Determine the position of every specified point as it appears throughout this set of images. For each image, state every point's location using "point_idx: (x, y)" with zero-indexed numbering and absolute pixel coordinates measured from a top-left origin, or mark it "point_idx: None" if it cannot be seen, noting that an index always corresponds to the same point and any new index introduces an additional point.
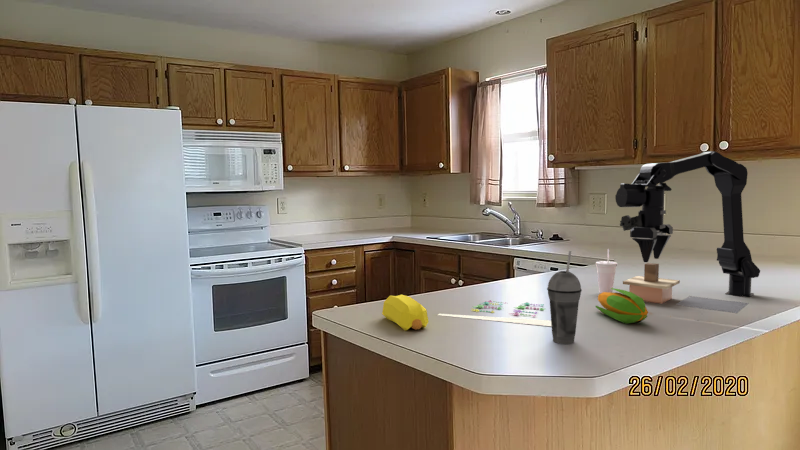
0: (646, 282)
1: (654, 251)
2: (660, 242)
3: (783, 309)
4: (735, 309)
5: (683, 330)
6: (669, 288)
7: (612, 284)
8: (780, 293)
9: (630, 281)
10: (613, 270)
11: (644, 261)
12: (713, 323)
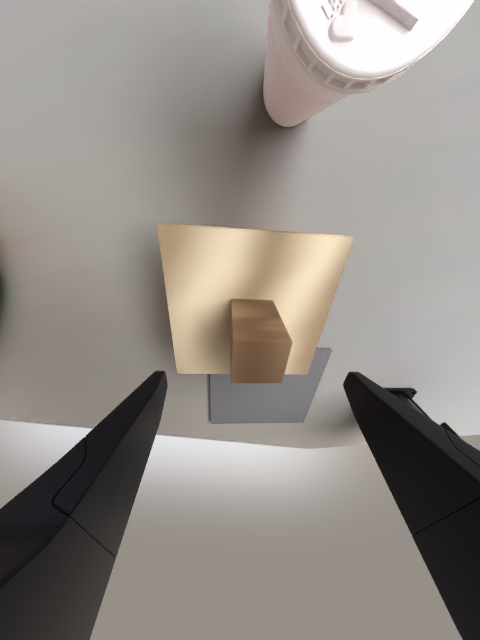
0: (204, 313)
1: (379, 408)
2: (430, 516)
3: (291, 444)
4: (237, 418)
5: (24, 394)
6: None
7: (293, 115)
8: None
9: (182, 256)
10: (309, 84)
11: (156, 375)
12: None
